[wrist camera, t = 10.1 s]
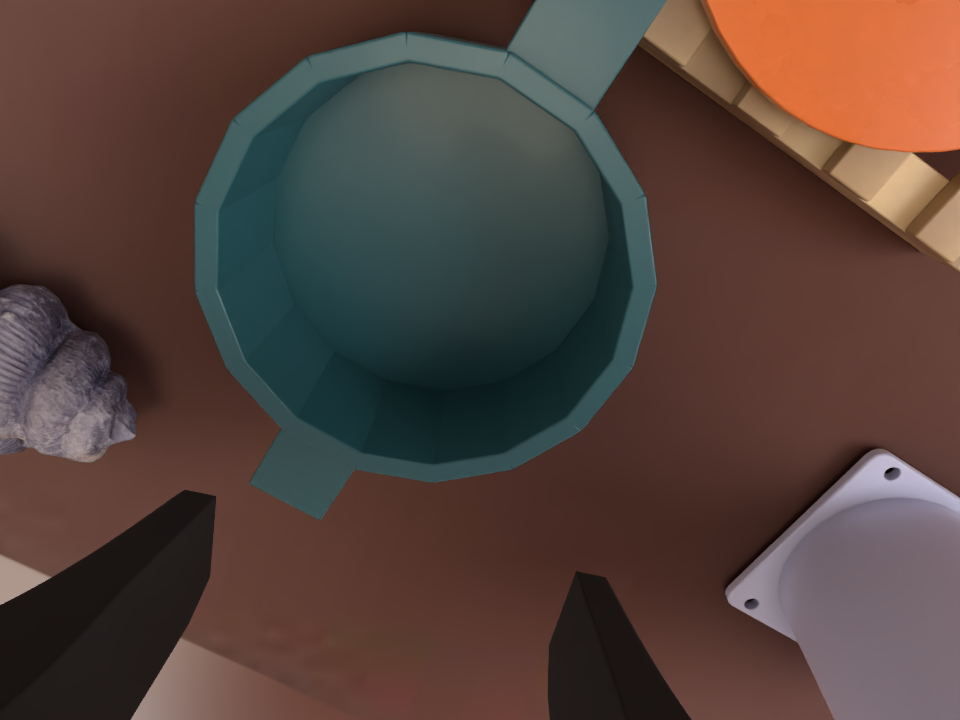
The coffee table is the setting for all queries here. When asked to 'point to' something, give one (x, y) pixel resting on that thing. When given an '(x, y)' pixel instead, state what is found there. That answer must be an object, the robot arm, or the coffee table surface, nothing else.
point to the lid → (852, 66)
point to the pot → (429, 251)
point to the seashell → (56, 381)
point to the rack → (815, 139)
